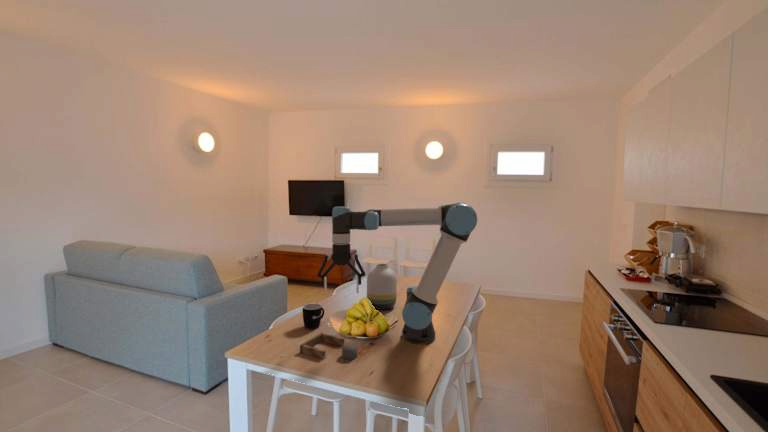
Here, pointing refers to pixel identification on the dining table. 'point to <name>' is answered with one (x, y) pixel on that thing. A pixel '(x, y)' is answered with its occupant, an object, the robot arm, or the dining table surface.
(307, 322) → the mug
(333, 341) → the corral
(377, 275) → the vase
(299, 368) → the dining table surface
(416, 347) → the dining table surface
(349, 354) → the puck
